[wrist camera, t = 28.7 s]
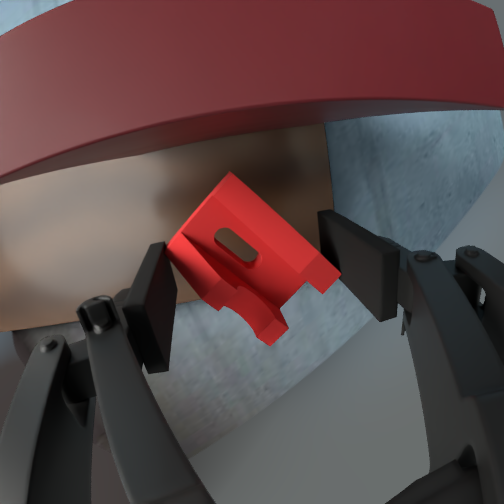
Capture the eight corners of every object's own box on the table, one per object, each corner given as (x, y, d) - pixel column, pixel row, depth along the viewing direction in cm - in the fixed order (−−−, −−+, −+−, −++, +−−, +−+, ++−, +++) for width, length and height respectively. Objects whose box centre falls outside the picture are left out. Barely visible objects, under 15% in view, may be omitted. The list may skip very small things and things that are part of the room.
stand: (333, 265, 24) (338, 270, 24) (3, 327, 22) (-1, 332, 21) (305, 42, 19) (309, 38, 18) (-50, 148, 16) (-57, 149, 15)
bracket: (319, 252, 17) (341, 273, 14) (259, 315, 18) (270, 346, 15) (229, 171, 15) (236, 177, 12) (166, 245, 16) (159, 268, 13)
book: (304, 125, 19) (515, 110, 5) (134, 156, 19) (-43, 199, 4) (298, 89, 19) (493, 9, 4) (127, 119, 18) (-54, 71, 3)
